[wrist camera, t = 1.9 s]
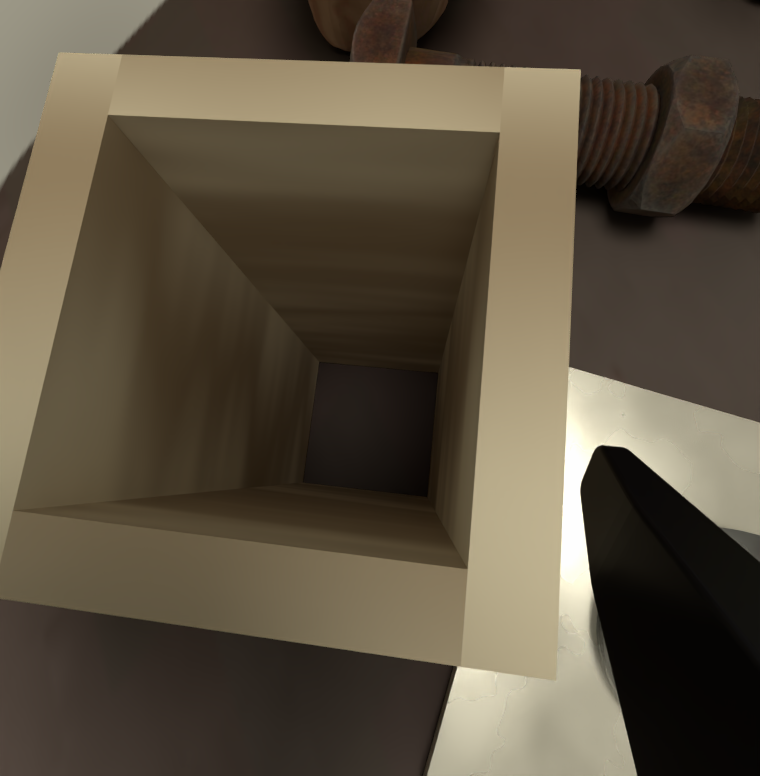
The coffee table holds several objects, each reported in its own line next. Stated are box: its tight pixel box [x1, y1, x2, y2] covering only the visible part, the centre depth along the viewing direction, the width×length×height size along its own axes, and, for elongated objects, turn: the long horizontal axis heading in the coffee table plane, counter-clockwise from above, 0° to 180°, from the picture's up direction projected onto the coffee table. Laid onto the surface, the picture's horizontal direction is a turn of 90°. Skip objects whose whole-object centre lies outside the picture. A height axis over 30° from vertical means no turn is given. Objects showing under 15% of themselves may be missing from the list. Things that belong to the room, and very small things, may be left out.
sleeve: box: [0, 53, 581, 681], centre depth 11 cm, size 6×6×12 cm
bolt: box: [350, 0, 760, 217], centre depth 16 cm, size 6×5×15 cm
